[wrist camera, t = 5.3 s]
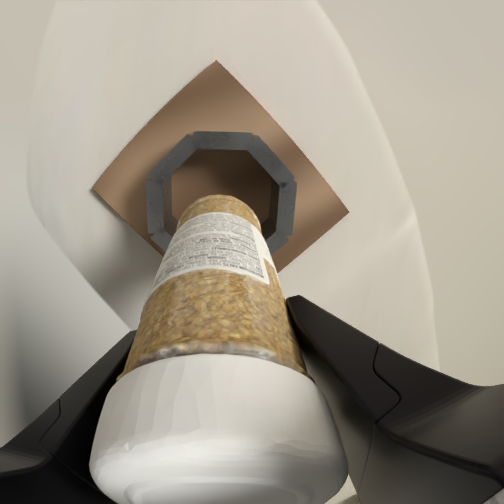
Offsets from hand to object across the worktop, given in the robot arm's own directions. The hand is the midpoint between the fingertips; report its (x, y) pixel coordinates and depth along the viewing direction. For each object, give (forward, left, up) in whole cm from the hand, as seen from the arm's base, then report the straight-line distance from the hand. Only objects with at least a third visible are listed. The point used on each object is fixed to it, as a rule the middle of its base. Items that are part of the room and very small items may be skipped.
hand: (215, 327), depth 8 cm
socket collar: (+1, -1, -13) cm, 13 cm away
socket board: (+1, -1, -13) cm, 13 cm away
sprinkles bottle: (0, 0, -8) cm, 8 cm away
